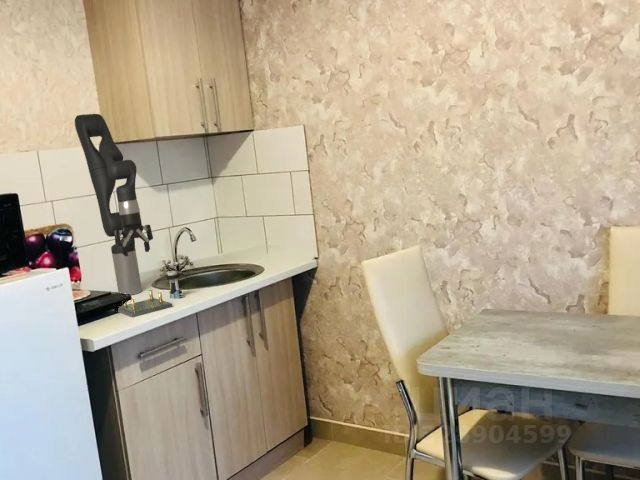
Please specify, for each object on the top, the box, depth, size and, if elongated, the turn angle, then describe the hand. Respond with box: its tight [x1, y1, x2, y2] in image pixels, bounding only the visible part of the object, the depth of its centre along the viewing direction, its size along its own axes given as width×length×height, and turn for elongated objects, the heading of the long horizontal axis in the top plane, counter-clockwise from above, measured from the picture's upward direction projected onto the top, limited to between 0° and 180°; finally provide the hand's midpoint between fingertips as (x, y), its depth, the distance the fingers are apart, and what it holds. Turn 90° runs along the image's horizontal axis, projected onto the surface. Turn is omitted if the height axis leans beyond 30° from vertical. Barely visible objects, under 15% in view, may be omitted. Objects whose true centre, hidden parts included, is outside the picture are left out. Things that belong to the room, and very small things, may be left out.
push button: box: [165, 270, 185, 299], centre depth 245 cm, size 7×5×10 cm
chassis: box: [117, 289, 173, 318], centre depth 233 cm, size 16×15×5 cm
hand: (136, 253), depth 251 cm, fingers open, 8 cm apart
